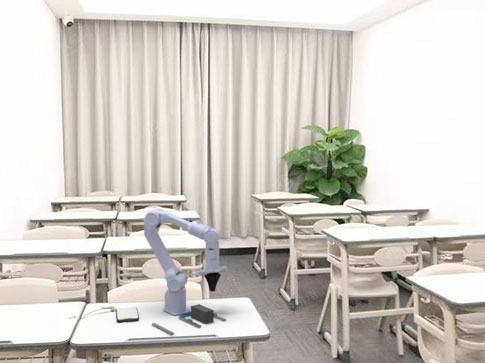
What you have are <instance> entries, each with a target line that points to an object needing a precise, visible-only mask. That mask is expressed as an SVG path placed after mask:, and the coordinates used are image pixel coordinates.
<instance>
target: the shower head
mask: <svg viewBox="0 0 485 363" xmlns="http://www.w3.org/2000/svg"><path fill="white" fill-rule="evenodd" d="M116 309H117V308H116V307H115V306H113V305H111V306H104V307H103V306H101V308H97V309H95V310H93V311H90V312H88V313H87V314H85V315H83V316H82V317H83V318H85V317H86V316H88V315H90V314H92V313H94V312H96V311H101V310H111V311H112V312H113V311H115V312H116ZM84 316H85V317H84Z"/></svg>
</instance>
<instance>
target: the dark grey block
mask: <svg viewBox="0 0 485 363" xmlns="http://www.w3.org/2000/svg"><path fill="white" fill-rule="evenodd" d="M190 311H191V316H190V319H191V320H195V321H197V322H199V323H201V324H203V325H209V324H213V323H214V322H215V321H214V319H215V318H214V313H215V312H214V311H215V310H214V309H211V308H209V307H207V306H204V305H202V304H200V303H198V304H194V305H190Z"/></svg>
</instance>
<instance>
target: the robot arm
mask: <svg viewBox="0 0 485 363" xmlns="http://www.w3.org/2000/svg"><path fill="white" fill-rule="evenodd" d="M142 221H143V225H144V226H143V231H144V233H143V234H144V237H145V239H146V241H147V243H148V245H149V247H150V248H151V250H152V252H153V253H154V256H155V258H156V259H157V261H158V263H159V265H160V266H161V268H162V270H163V272H164V279H165V281H166V287H167V290H166V291H165V292H164V308H162V311H164V312H165V313H168V314H170V315H173V316H178V315H179V314H181V313H185V312H189V311H191V309H187V289H186V285H187V283H188V277H187V275H186V274H185V273H183V271H182V270H181V269H180V268H179V267H178V266H177V265H176V264H175V262H174V260H173V258H172V256H171V255H170V252H169V251H168V249H167V247H166V245H165V244H164V242H163V240H162V239H161V236H160V234H159V231H160V228H161V226H162V225H165V224H171V225H174V226H177V227H179V228H182V229H184V230H186V231H187V233H188V234H189V235H190V236H193V237H195V238H197V239H200V240H203V241H204V242H205V248H204V250H205V252H204V254H205V259H204V263H205V264H204V266H205V267H204V268H203V269H200V270H196V272H195V274H196V275H195V276H197V277H202V276H203V277H204V278H205V279H206V280H205V281H206V282H207V286H208V290H209V291H210V292H216V289H217V286H218V285H217V284H218V282H219V280H220V278H221V276H222V275H221V273H222V272H223V273H224V272H228V271H229V270H228V266H226V265H223V266H220V238H221V233H220V231H219V229H217V228H216V227H211V226H210V225H204V224H202V223H201V221H199V220H197V221H196V220H193V221H192V222H190V221H189V220H188V221H187V220H186V219H183V217H180V216H177V215H176V214H174V213H171V212H170V211H168V210H163V209H161V208H155V209H154V210H150V211H147V212H146V214H145V216H144V217H143V220H142Z"/></svg>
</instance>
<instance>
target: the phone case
mask: <svg viewBox="0 0 485 363" xmlns="http://www.w3.org/2000/svg"><path fill="white" fill-rule="evenodd" d="M115 314H116V315H115V318H116V323H117V324H122V323H123V324H124V322H126V323H135V322H139V321H140V316H139V311H138V307H126V308H125V307H124V308H123V307H122V308H116V311H115Z"/></svg>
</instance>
